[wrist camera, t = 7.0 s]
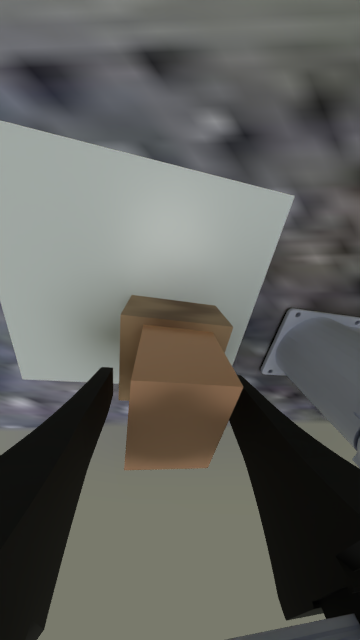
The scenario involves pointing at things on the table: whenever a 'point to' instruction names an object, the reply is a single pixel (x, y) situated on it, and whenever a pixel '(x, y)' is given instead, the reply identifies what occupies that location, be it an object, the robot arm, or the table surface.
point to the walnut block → (163, 315)
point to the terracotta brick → (178, 399)
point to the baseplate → (118, 247)
